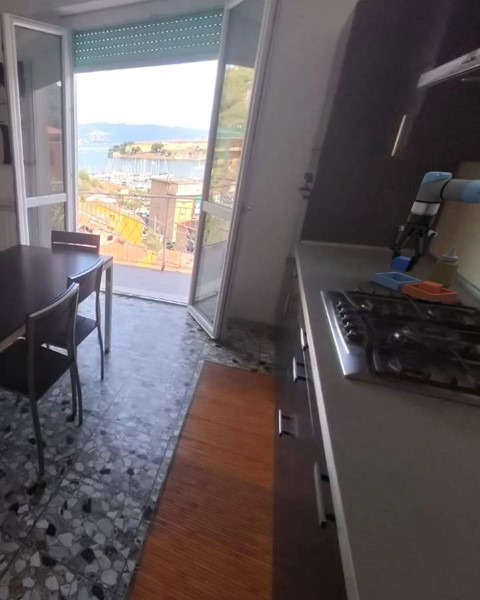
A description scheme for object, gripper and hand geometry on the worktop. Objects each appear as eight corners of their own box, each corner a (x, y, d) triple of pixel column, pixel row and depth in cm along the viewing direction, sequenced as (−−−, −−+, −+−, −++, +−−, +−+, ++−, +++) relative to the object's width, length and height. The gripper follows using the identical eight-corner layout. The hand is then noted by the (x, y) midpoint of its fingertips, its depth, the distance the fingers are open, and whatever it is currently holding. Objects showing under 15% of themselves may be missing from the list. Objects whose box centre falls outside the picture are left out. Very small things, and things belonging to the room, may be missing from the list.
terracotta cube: (438, 296, 140) (443, 284, 138) (431, 298, 138) (436, 286, 136) (422, 292, 144) (427, 280, 142) (415, 294, 142) (420, 282, 140)
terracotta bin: (454, 301, 137) (458, 293, 135) (429, 303, 135) (433, 294, 133) (423, 290, 147) (427, 282, 145) (400, 292, 145) (403, 284, 144)
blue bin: (419, 289, 148) (423, 281, 147) (396, 290, 147) (399, 282, 145) (393, 279, 159) (396, 271, 157) (371, 281, 157) (374, 273, 155)
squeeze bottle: (446, 288, 149) (464, 246, 142) (452, 294, 143) (472, 251, 136) (420, 284, 153) (438, 243, 146) (425, 290, 147) (443, 248, 139)
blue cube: (411, 270, 149) (415, 259, 147) (404, 272, 147) (408, 260, 145) (397, 267, 153) (401, 256, 151) (390, 268, 151) (394, 257, 149)
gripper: (457, 216, 134) (432, 274, 144) (401, 209, 149) (382, 261, 159) (446, 218, 131) (421, 277, 141) (391, 210, 146) (372, 264, 156)
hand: (401, 269), depth 150 cm, fingers closed on blue cube, 5 cm apart
